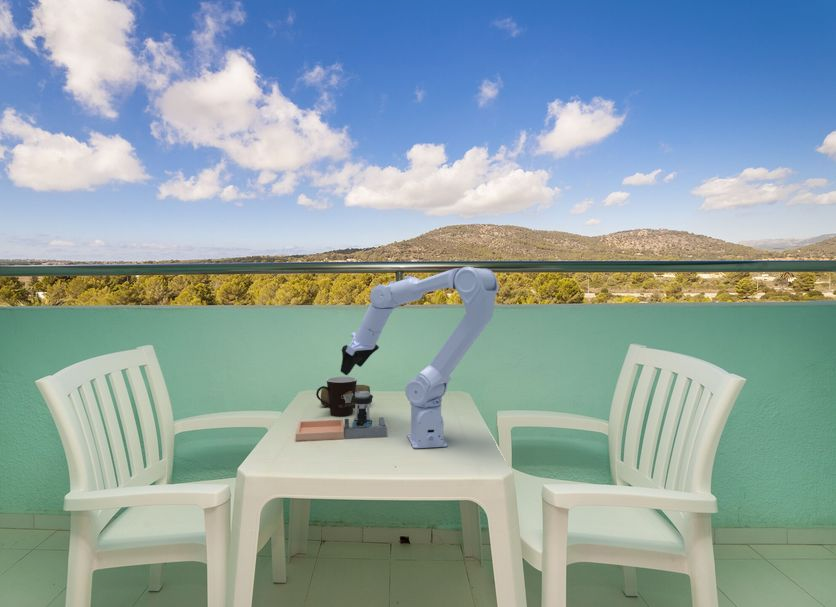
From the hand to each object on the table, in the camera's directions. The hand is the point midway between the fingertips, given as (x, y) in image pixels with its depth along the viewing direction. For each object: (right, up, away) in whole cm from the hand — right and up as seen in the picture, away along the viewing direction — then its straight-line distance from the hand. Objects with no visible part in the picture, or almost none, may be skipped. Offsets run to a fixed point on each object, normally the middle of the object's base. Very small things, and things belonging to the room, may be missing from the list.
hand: (351, 368), depth 120 cm
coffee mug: (-6, -15, +9) cm, 18 cm away
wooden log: (-4, -15, +19) cm, 24 cm away
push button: (+4, -15, -6) cm, 17 cm away
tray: (-6, -15, -8) cm, 18 cm away
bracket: (+4, -15, -6) cm, 17 cm away
